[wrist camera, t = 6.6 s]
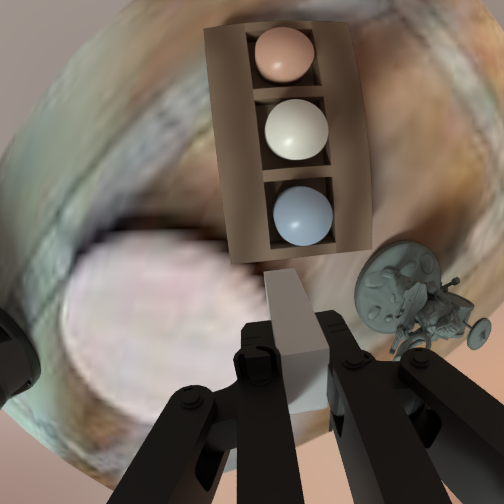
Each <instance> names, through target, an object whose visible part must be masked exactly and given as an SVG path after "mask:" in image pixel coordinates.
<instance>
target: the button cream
mask: <svg viewBox="0 0 504 504" xmlns="http://www.w3.org/2000/svg"><path fill="white" fill-rule="evenodd" d="M264 135H265V140H266V143H267V145H268V146H269V148H270V149H271V150H272V151H273V152H274V153H275V154H276V155H278V156H279V157H282V158H284V159H288V160H302V159H307V158H310V157H312V156H314V155H316V154H317V153H319V152H320V151H321V150H322V148H323V147H324V145H325V144H326V141H327V138H328V123H327V120H326V118H325V116H324V114H323V113H322V112H321V110H320V109H319V108H317V107H316V106H315V105H314V104H312V103H310V102H308V101H305V100H300V99H292V100H287V101H284V102H282V103H280V104H278V105H277V106H276V107H275V108H274V109H273V110H272V111H271V112H270V114H269V116H268V119H267V122H266V125H265V130H264Z"/></svg>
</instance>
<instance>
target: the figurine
mask: <svg viewBox="0 0 504 504" xmlns="http://www.w3.org/2000/svg"><path fill="white" fill-rule="evenodd" d="M459 283H460V279H459V278H458V277H456V278H454V279H452V282H450V283H448V284H446V285H444V286H442V282H441V270H440V266H439V263H438V260H437V258H436V257H435V255H434V254H433V253H432V252H431V251H430V250H429V249H428V248H427V247H425V246H423V245H422V244H420V243H417V242H414V241H408V240H403V241H397V242H393V243H391V244H388V245H386V246H384V247H383V248H381V249H380V250H379V251H377V252H376V253H375V254H374V255H373V256H372V257H371V258H370V259H369V260H368V261H367V263H366V264H365V266H364V267H363V269H362V270H361V272H360V274H359V277H358V279H357V282H356V286H355V294H354V299H355V306H356V309H357V312H358V314H359V316H360V317H361V319H362V321H363V322H364V323H365V324H366V325H367V326H368V327H369V328H370V329H372V330H374V331H376V332H379V333H384V334H392V333H395V334H396V337H395V340H394V342H393V344H392V346H391V349H390V352H389V353H390V354H394V353H395V350H396V348H397V346H398V344H399V342H400V340H401V339H402V340H405V341H404V342H403V343H402V344H401V345H400V346H399V348H398V350H397V354H396V355H395V357H394V359H393V361H400V358H401V356H402V354H403V353H404V352H405V351H407V350H409V349H412V348H414V347H415V346H416V345H420V344H422V343H423V342H426V347H425V348H426V349H429V350H430V348H431V341H437V340H438V339H439V337H440V338H442V339H445V340H448V338H461V337H463V335H464V329H465V327H466V326H467V327H468V328H470V329H471V330H470V331H469V334H468V337H467V345H468V347H469V348H470V349H471V350H477V349H479V348H480V347H481V346H482V345H483V344H484V343H485V342H486V341H487V339H488V337H489V335H490V332H491V322H490V320H488V319H487V318H481V319H479V320H478V321H477V322H476V323H475V324H474V325H473V326H472V327H471V326H470V325H468V324H467V322H468V319H469V317H470V314H471V311H472V310H473V309H474V304H473V303H472V302H470V301H469V300H467V299H465V298H463V297H461V296H459V295H457V294H454V293H451V292H448V287H449V286H451V285H457V284H459ZM442 289H443V290H442ZM416 323H418V324H419V325H420V326H421V328H419V329H417V330H416V331H415V332H411V331H412V329H413V327H414V325H415V324H416ZM413 341H415V342H413ZM412 342H413V343H412Z"/></svg>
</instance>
